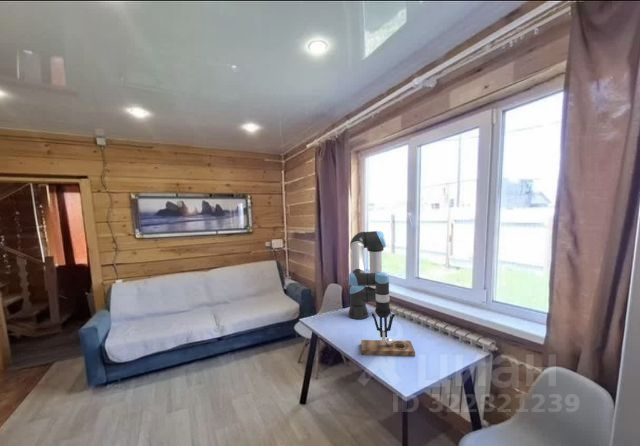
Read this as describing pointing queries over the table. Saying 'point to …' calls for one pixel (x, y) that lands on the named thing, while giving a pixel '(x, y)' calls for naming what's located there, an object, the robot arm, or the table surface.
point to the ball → (388, 342)
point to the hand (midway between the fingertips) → (383, 342)
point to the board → (387, 348)
